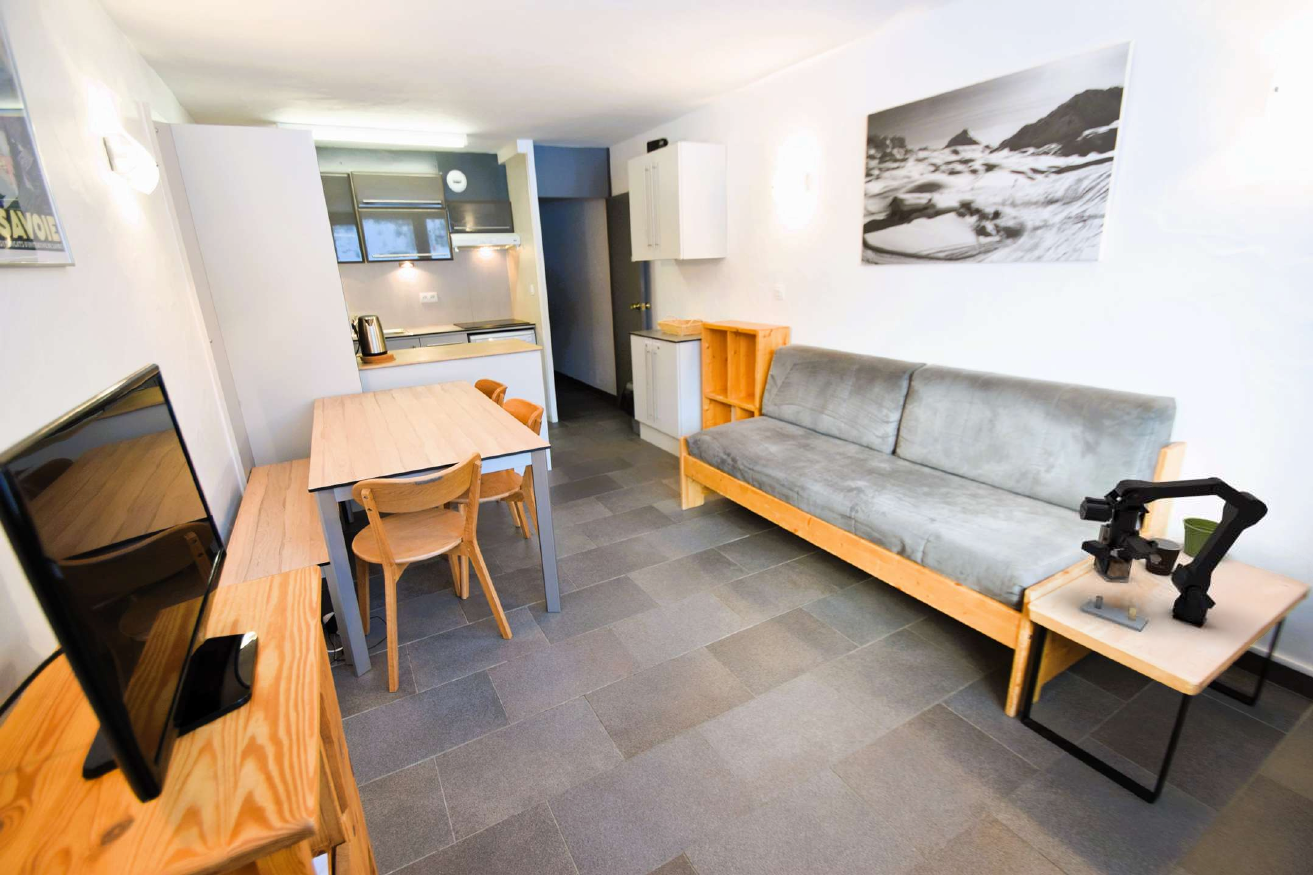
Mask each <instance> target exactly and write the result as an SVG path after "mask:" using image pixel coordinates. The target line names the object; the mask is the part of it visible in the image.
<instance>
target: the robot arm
mask: <svg viewBox="0 0 1313 875" xmlns="http://www.w3.org/2000/svg"><path fill="white" fill-rule="evenodd" d="M1208 496H1216V497H1218V498H1220V499H1222V500H1223V501H1225V502H1224V505H1223V507H1222V512H1221V513H1222V515H1221V520H1220V521H1219V522H1218V523H1219V524H1218V526H1217V527H1216V529H1215V530H1214V531H1213V533H1212V534H1211V535H1210V537H1209V538H1208V540H1207V541H1206V542H1205V544H1204V545H1203V547H1202V548H1201V549H1200V551H1199V552H1198V554H1197V555H1196V556H1195V557H1193V559H1192V560H1191V562H1189V563H1187V564H1182V563H1180V562H1178V563H1177V565H1176V567H1175V569H1173V570H1172V572H1171V573H1170V576H1171V577H1170V580H1171V582H1172V585H1173V586H1174V587H1175V588H1176V589H1177V591H1178V592H1179V593H1180V594H1179V595H1178V597H1176V599H1175V600H1174V602H1173V605H1172V610H1171V613H1172V616H1171V618H1172V619H1174V620H1177V621H1181V622H1183V623H1186V624H1189V625H1192V626H1196V627H1198V628H1203V627H1204V625H1205V623H1206V622H1207V621H1208V617H1207V616H1208V612H1209V610H1212V609H1213V608H1214V606H1216V605H1217V603H1216V601H1215V600H1213V598H1212V597H1211V596H1210V594H1208V591H1209V589H1210V587H1211V583H1212V575H1213V572H1214V571H1215V569H1216V568H1217V566H1219V564H1220V562H1222V560H1223V559H1224V557H1225V556H1226V554H1227V553H1228V551H1230V549H1231V547H1232V546H1234V544H1235V543H1236V541H1237V539H1238V538H1239V537H1240V536H1241V534H1242V533H1243V532H1244V531H1245V530H1247V529H1249V528H1251V527H1253V526H1255V525H1257V523H1259V522H1260V521H1261V520H1263V518H1264V517H1266V515H1267V514H1268V511H1269V508H1268V506H1267V504H1266V503H1265V502H1264V501H1262V500H1261V499H1260V498H1258V497H1256V496H1255V495H1253V493H1250V492H1248V491H1244V490H1243V491H1242V490H1241V491H1239V490H1237V489H1235V488H1234V487H1232V486H1231V485H1230V484H1228V483H1227V482H1226V481H1224V480H1223V479H1222V478H1219V477H1215V476H1211V477H1207V478H1197V479H1196V478H1195V479H1182V480H1170V481H1158V482H1157V481H1147V480H1141V479H1131V478H1130V479H1129V478H1128V479H1122V480H1120V481H1119V482H1118V483H1116V486H1115V487H1114V488H1113V489H1112V490H1111V491H1109V492H1108V493H1107V494H1105V495H1104V496H1103V498H1097V497H1091V496H1084V500H1082V502H1081V504H1080V506H1079V511H1078V514H1079V518H1080V520H1082V521H1090V522H1096V523H1097V522H1098V523H1105V525H1106V527H1107V528H1109V531H1108V536H1104V537H1103V540H1104V541H1106V542H1107V543H1106V544H1103V543H1101V542H1099V541H1098V539H1093V540H1092V539H1090V540H1085V541H1082V543H1081V548H1080V549H1081V550H1082V551H1084V552H1086V553H1088V554H1090V555H1091V556H1093V557H1094V558H1095V557H1097V560H1098V562H1099V565H1100V568H1101V571H1102V573H1104V574H1107V572H1108V569H1109V566H1110V563H1111V560H1112V559H1115V558H1117V557H1118V558H1120V559H1122V560H1124V561H1126V562H1127V563H1130V562H1131V560H1132V559H1133V560H1134V561H1139V560H1140V561H1141V560H1146V559H1148V558H1149V557H1150V555H1151V554H1156V551H1157V549H1158V543H1157V542H1156V541H1155V540H1150V541H1149V540H1147V539H1148V538H1145V537H1143V536H1141V535H1140V531H1139V530H1138V529H1136V528H1137V524H1138V520H1139V517H1140V516H1139V515H1140V514H1149V513H1150V511H1149V509H1148V508H1147V507H1146V506H1145V505H1148V504H1151V503H1152V502H1156V501H1158V500H1164V499H1177V498H1178V499H1181V498H1193V497H1208ZM1118 498H1119V499H1118ZM1107 522H1108V523H1107ZM1114 550H1117V557H1115V556H1113V552H1114Z"/></svg>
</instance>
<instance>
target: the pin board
mask: <svg viewBox="0 0 1313 875" xmlns="http://www.w3.org/2000/svg"><path fill="white" fill-rule="evenodd" d="M1103 601H1104V596H1102V595H1096V598H1095V600H1094V599H1091V598H1090V599H1088V600H1087V602H1085V603H1084V604H1083V605H1082V607H1081V608H1080V610H1081V612H1083V613H1085V614H1089V615H1091V616H1095V617H1097V618H1101V619H1102V620H1105V621H1108V622H1111V623H1114V624H1116V625H1119V626H1122V627H1125V628H1127V629H1130V630H1133V631H1136V632H1138V633H1141V632H1142V631H1143V630H1144V628H1145V627H1146V626H1147V624H1148V622H1149V619H1148V618H1145V617H1143V616H1141V615H1138V614H1137V613H1138V608H1136V607H1133V606H1131V607H1129V610H1128V611H1125V610H1123V609H1120V608H1117V607H1114V606H1111V605H1108V604H1105V603H1104V602H1103Z"/></svg>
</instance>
